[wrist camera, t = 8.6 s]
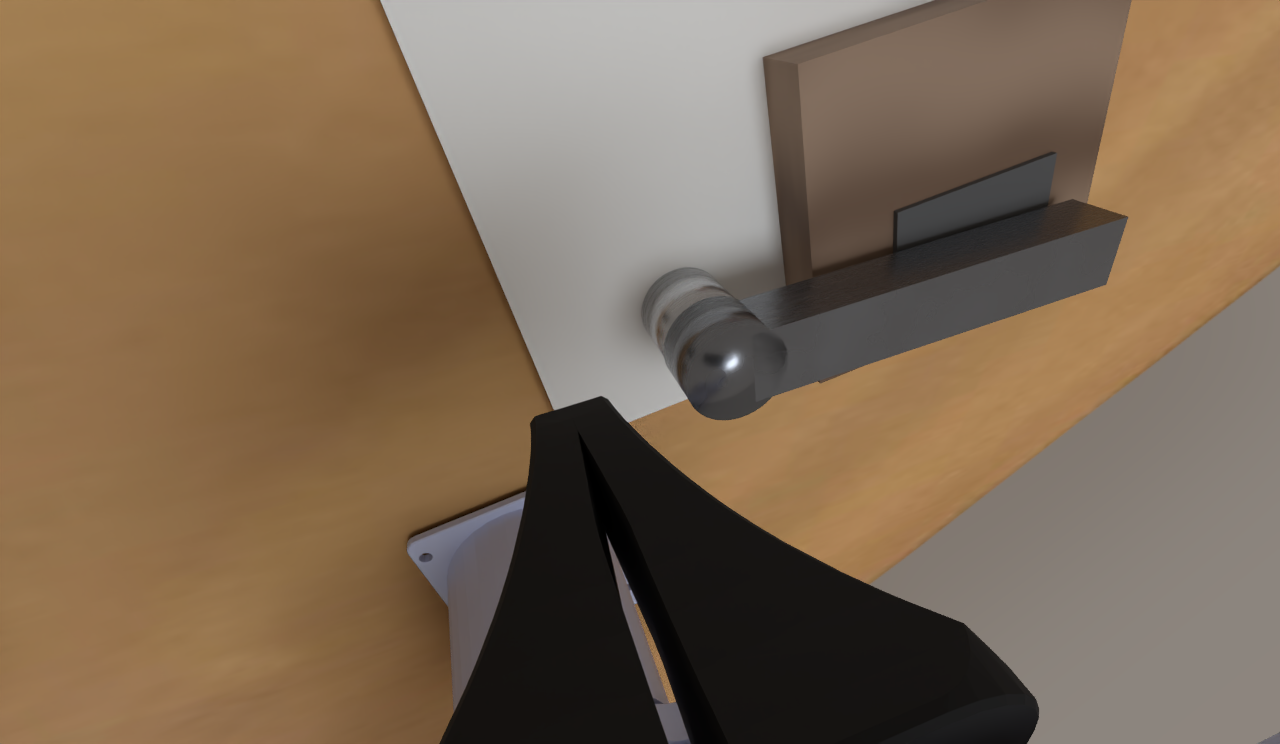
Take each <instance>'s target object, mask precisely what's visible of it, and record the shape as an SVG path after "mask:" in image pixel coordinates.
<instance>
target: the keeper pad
mask: <svg viewBox="0 0 1280 744" xmlns="http://www.w3.org/2000/svg"><path fill="white" fill-rule="evenodd" d="M1056 157H1057V153H1056V152H1050V153H1047V154H1044V155H1042V156H1039V157H1036V158H1034V159H1031V160H1028V161H1026V162H1023V163H1020V164H1018V165H1015V166H1012V167H1010V168H1007V169H1004V170H1002V171H999V172H996V173H994V174H991V175H988V176H986V177H983V178H980V179H978V180H975V181H972V182H970V183H967V184H964V185H962V186H959V187H956V188H954V189H951V190H948V191H946V192H943V193H940V194H938V195H935V196H932V197H930V198H927V199H924V200H922V201H919V202H916V203H914V204H911V205H908V206H906V207H903V208H900V209H898V210H895V211H894V225H893V253H896V252H899V251H902V250H906V249H909V248H912V247H916V246H919V245H922V244H926V243H929V242H932V241H935V240H939V239H942V238H945V237H949V236H952V235H955V234H958V233H962V232H965V231H968V230H972V229H975V228H978V227H982V226H985V225H988V224H991V223H995V222H998V221H1001V220H1005V219H1008V218H1011V217H1014V216H1018V215H1021V214H1024V213H1028V212H1031V211H1034V210H1038V209H1041V208H1044V207H1047V206H1048V202H1049V196H1050V191H1051V185H1052V180H1053V174H1054V168H1055V163H1056Z"/></svg>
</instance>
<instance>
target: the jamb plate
mask: <svg viewBox="0 0 1280 744" xmlns="http://www.w3.org/2000/svg"><path fill="white" fill-rule="evenodd" d="M380 1H381V3H382V6H383V8H384V10H385V13H386V15H387V17H388V20H389V22H390V25H391V27H392V29H393V32H394V34H395V36H396V39H397V41H398V43H399V46H400V48H401V50H402V53H403V55H404V58H405V60H406V62H407V65H408V67H409V69H410V72H411V74H412V76H413V79H414V81H415V83H416V86H417V88H418V91H419V93H420V95H421V98H422V100H423V102H424V105H425V107H426V109H427V112H428V114H429V116H430V119H431V121H432V124H433V126H434V128H435V131H436V133H437V135H438V138H439V140H440V142H441V145H442V147H443V150H444V152H445V154H446V157H447V159H448V161H449V164H450V166H451V168H452V171H453V173H454V175H455V178H456V180H457V183H458V185H459V187H460V190H461V192H462V194H463V197H464V199H465V201H466V204H467V206H468V208H469V211H470V213H471V216H472V218H473V220H474V223H475V225H476V227H477V230H478V232H479V234H480V237H481V239H482V241H483V244H484V246H485V249H486V251H487V253H488V256H489V258H490V260H491V263H492V265H493V267H494V270H495V272H496V274H497V277H498V279H499V282H500V284H501V286H502V289H503V291H504V293H505V296H506V298H507V300H508V303H509V305H510V308H511V310H512V312H513V315H514V317H515V319H516V322H517V324H518V326H519V329H520V331H521V333H522V336H523V338H524V341H525V343H526V345H527V348H528V350H529V352H530V355H531V357H532V359H533V362H534V364H535V366H536V369H537V371H538V374H539V376H540V378H541V381H542V383H543V385H544V388H545V390H546V392H547V395H548V397H549V399H550V402H551V404H552V407H553V409H554V410H557V409H560V408H564V407H567V406H570V405H573V404H577V403H580V402H583V401H586V400H590V399H593V398H596V397H599V396H603V397H605V398H607V399H609V401H610V402H611V404H612V405H613V406H614V407H615V409H616V410H617V411H618V412H619V413H620V414H621V416H622V417H623V418H624V419H625V420H626V421H627V422H631V421H633V420H636V419H638V418H641V417H643V416H646V415H648V414H651V413H653V412H656V411H658V410H661V409H663V408H666V407H668V406H671V405H673V404H676V403H678V402H681V401H683V400H686V399H688V398H687V396H686V395H685V393H684V392H683V390H682V389H681V387H680V386H679V384H678V383H677V381H676V380H675V378H674V377H673V375H672V374H671V372H670V371H669V369H668V368H667V365H666V363H665V359H664V356H663V355H662V353H661V352H660V350H659V349H658V347H657V346H656V344H655V343H654V341H653V340H652V338H651V337H650V335H649V334H648V332H647V331H646V329H645V327H644V325H643V322H642V315H641V311H642V304H643V301H644V298H645V296H646V294H647V292H648V290H649V289H650V287H651V286H652V285H653V284H654V282H656V281H657V280H658V279H659V278H660V277H661V276H663V275H664V274H666V273H668V272H670V271H672V270H675V269H678V268H683V267H694V268H699V269H702V270H704V271H706V272H708V273H709V274H710V275H712V276H713V277H714V278H715V279H716V280H717V281H718V282H719V283H720V284H721V285H722V286H723V287H724V288H725V289H726V290H727V291H728V292H729V293H730V294H731V295H732V296H733V297H734V298H736V299H738V300H741V299H744V298H748V297H751V296H754V295H757V294H761V293H764V292H767V291H771V290H774V289H777V288H781V287H784V286H786V283H785V273H784V263H783V253H782V243H781V233H780V224H779V214H778V204H777V194H776V184H775V174H774V165H773V155H772V145H771V135H770V125H769V116H768V106H767V96H766V86H765V76H764V66H763V57H765V56H768V55H771V54H774V53H777V52H780V51H783V50H786V49H789V48H792V47H795V46H798V45H801V44H804V43H807V42H810V41H813V40H816V39H819V38H822V37H825V36H828V35H831V34H834V33H837V32H840V31H843V30H846V29H849V28H852V27H855V26H858V25H861V24H864V23H867V22H870V21H873V20H876V19H879V18H882V17H885V16H888V15H891V14H894V13H897V12H900V11H903V10H906V9H910V8H913V7H916V6H919V5H922V4H925V3H928V2H931V1H934V0H380Z"/></svg>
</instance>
